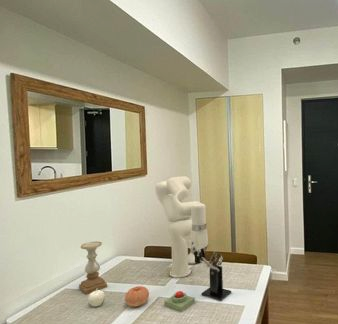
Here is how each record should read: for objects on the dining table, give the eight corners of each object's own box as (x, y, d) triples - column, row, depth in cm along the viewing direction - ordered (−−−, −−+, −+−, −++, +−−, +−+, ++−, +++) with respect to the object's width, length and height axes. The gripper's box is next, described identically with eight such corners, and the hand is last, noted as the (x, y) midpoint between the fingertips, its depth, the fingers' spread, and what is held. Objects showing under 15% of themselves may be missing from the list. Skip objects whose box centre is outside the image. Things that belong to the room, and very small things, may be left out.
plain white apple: (93, 310, 128) (93, 293, 128) (85, 306, 132) (84, 289, 131) (108, 303, 134) (107, 287, 134) (99, 299, 138) (99, 283, 137)
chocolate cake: (217, 268, 172) (224, 251, 179) (207, 265, 173) (214, 247, 180) (218, 273, 179) (225, 256, 187) (208, 270, 180) (215, 253, 188)
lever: (194, 257, 145) (196, 252, 144) (198, 255, 147) (200, 250, 147) (214, 276, 138) (217, 271, 137) (218, 274, 141) (220, 269, 140)
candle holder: (78, 287, 150) (76, 244, 149) (100, 280, 158) (98, 239, 157) (85, 294, 143) (83, 249, 142) (107, 286, 151) (105, 243, 150)
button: (173, 297, 131) (173, 293, 131) (179, 293, 134) (179, 290, 134) (179, 299, 129) (179, 295, 129) (184, 295, 132) (184, 292, 132)
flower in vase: (187, 266, 175) (186, 227, 175) (182, 260, 185) (181, 223, 185) (206, 262, 181) (205, 225, 181) (201, 256, 191) (200, 221, 191)
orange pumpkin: (131, 298, 138) (130, 282, 138) (152, 298, 138) (152, 282, 137) (121, 310, 127) (120, 293, 127) (144, 310, 127) (143, 293, 127)
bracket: (201, 295, 139) (201, 268, 139) (212, 287, 147) (212, 262, 147) (220, 301, 133) (220, 273, 133) (231, 293, 141) (230, 266, 140)
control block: (164, 305, 131) (164, 297, 131) (178, 296, 138) (177, 289, 138) (181, 311, 125) (181, 303, 125) (194, 302, 133) (194, 294, 132)
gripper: (203, 222, 153) (204, 255, 154) (182, 230, 139) (183, 265, 140) (214, 224, 150) (215, 257, 150) (193, 232, 135) (194, 268, 136)
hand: (200, 261), depth 145 cm, fingers closed on lever, 3 cm apart
